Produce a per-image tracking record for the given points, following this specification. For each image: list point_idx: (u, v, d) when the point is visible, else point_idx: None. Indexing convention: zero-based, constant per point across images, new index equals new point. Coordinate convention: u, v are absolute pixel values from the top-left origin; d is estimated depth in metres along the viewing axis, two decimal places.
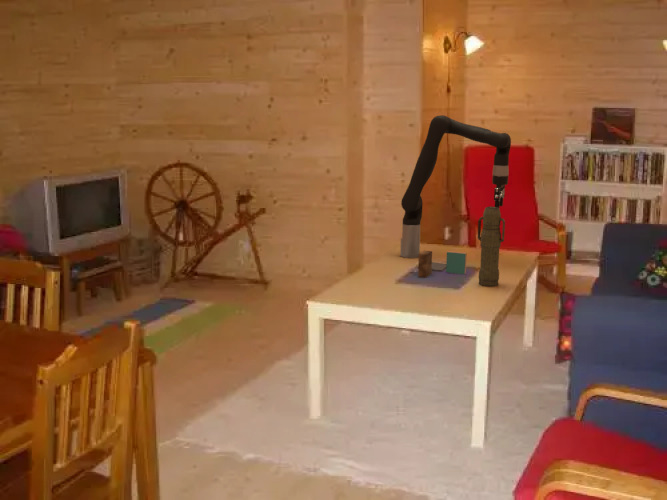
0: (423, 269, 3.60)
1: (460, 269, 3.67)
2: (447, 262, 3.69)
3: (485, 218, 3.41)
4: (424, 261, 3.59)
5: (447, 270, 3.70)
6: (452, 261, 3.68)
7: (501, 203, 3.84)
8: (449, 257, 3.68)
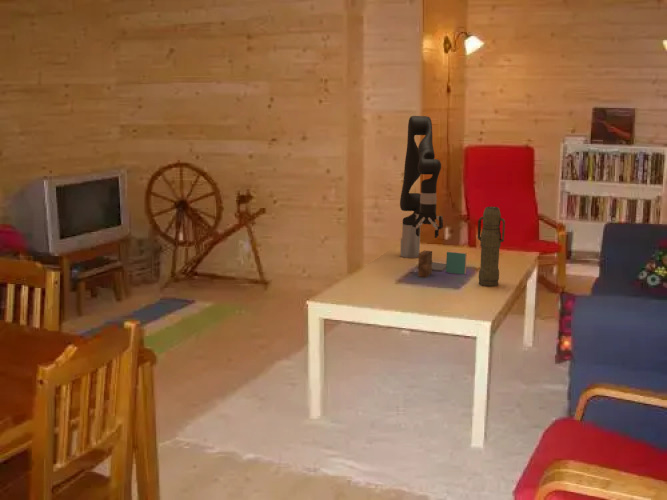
0: (423, 269, 3.60)
1: (460, 269, 3.67)
2: (447, 262, 3.69)
3: (485, 218, 3.41)
4: (424, 261, 3.59)
5: (447, 270, 3.70)
6: (452, 261, 3.68)
7: (419, 232, 3.63)
8: (449, 257, 3.68)
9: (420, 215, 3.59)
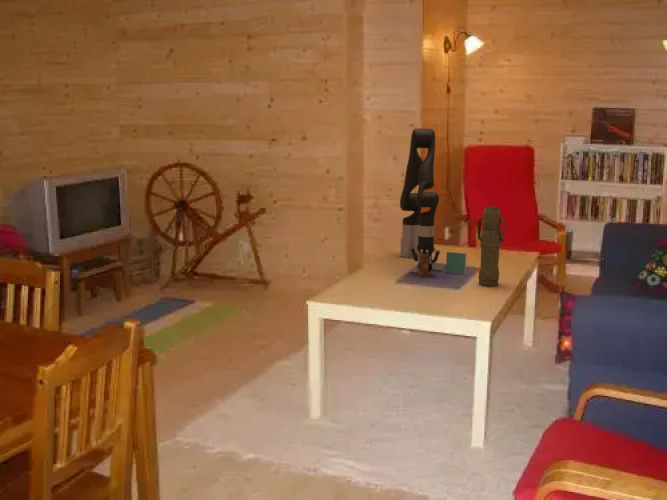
0: (423, 269, 3.60)
1: (460, 269, 3.67)
2: (447, 262, 3.69)
3: (485, 218, 3.41)
4: (424, 261, 3.59)
5: (447, 270, 3.70)
6: (452, 261, 3.68)
7: None
8: (449, 257, 3.68)
9: (418, 247, 3.62)
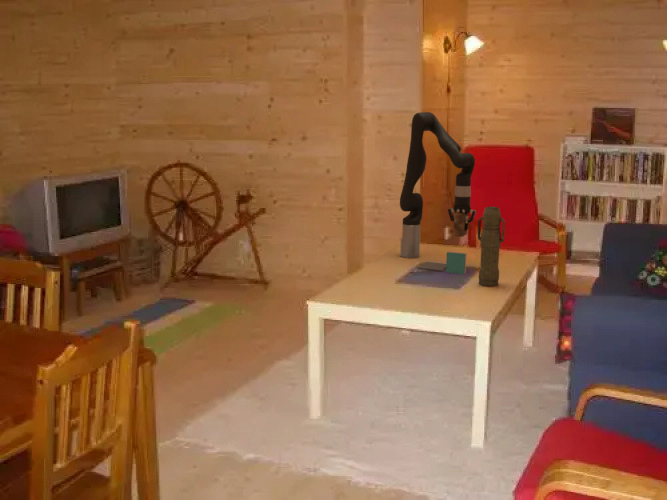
0: (459, 229, 3.70)
1: (460, 269, 3.67)
2: (447, 262, 3.69)
3: (485, 218, 3.41)
4: (461, 220, 3.69)
5: (447, 270, 3.70)
6: (452, 261, 3.68)
7: None
8: (449, 257, 3.68)
9: (454, 207, 3.72)
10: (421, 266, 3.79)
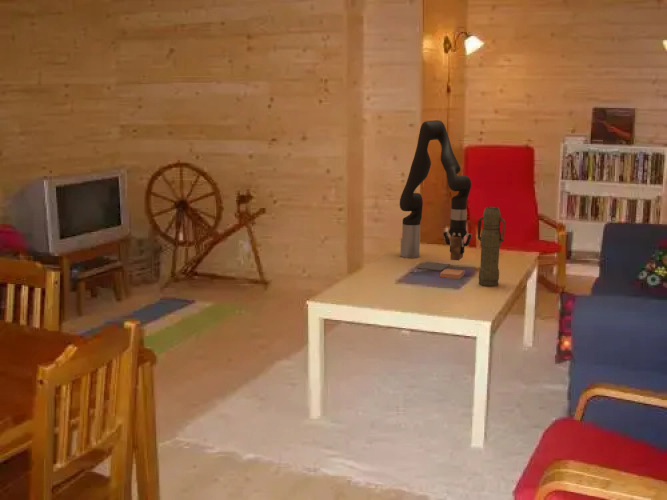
0: (455, 252, 3.64)
1: None
2: None
3: (485, 218, 3.41)
4: (457, 244, 3.63)
5: None
6: None
7: None
8: None
9: (450, 231, 3.66)
10: (421, 266, 3.79)
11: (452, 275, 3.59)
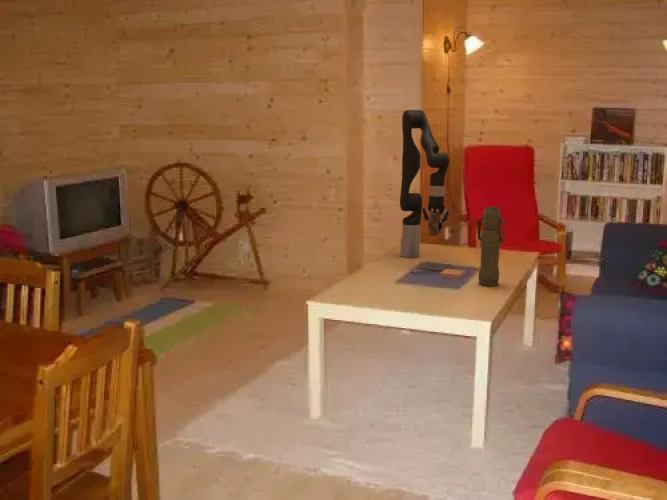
0: (434, 228, 3.73)
1: None
2: None
3: (485, 218, 3.41)
4: (435, 220, 3.72)
5: None
6: None
7: None
8: None
9: (428, 207, 3.75)
10: (421, 266, 3.79)
11: (452, 275, 3.59)
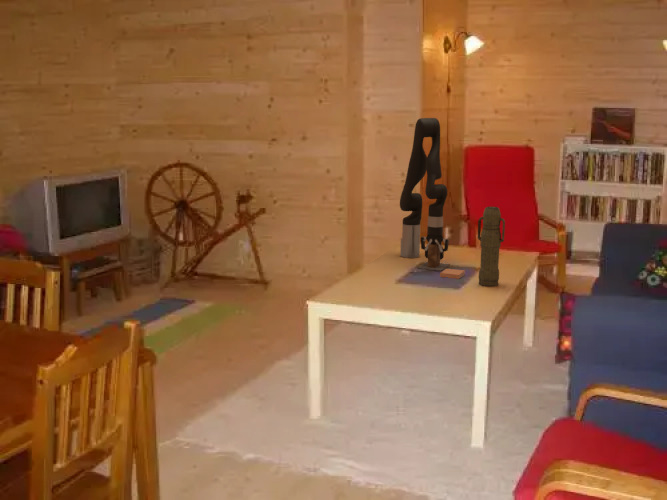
0: (432, 260, 3.76)
1: None
2: None
3: (485, 218, 3.41)
4: (433, 252, 3.75)
5: None
6: None
7: None
8: None
9: (427, 237, 3.78)
10: (421, 266, 3.79)
11: (452, 275, 3.59)
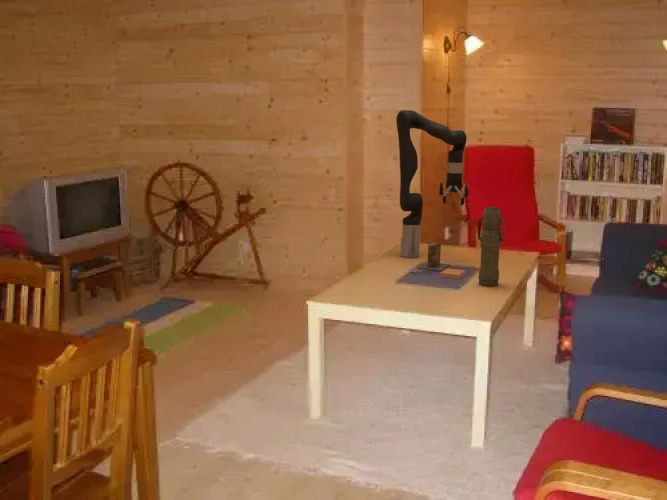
0: (432, 260, 3.76)
1: None
2: None
3: (485, 218, 3.41)
4: (433, 252, 3.75)
5: None
6: None
7: None
8: None
9: (447, 184, 3.80)
10: (421, 266, 3.79)
11: (452, 275, 3.59)
